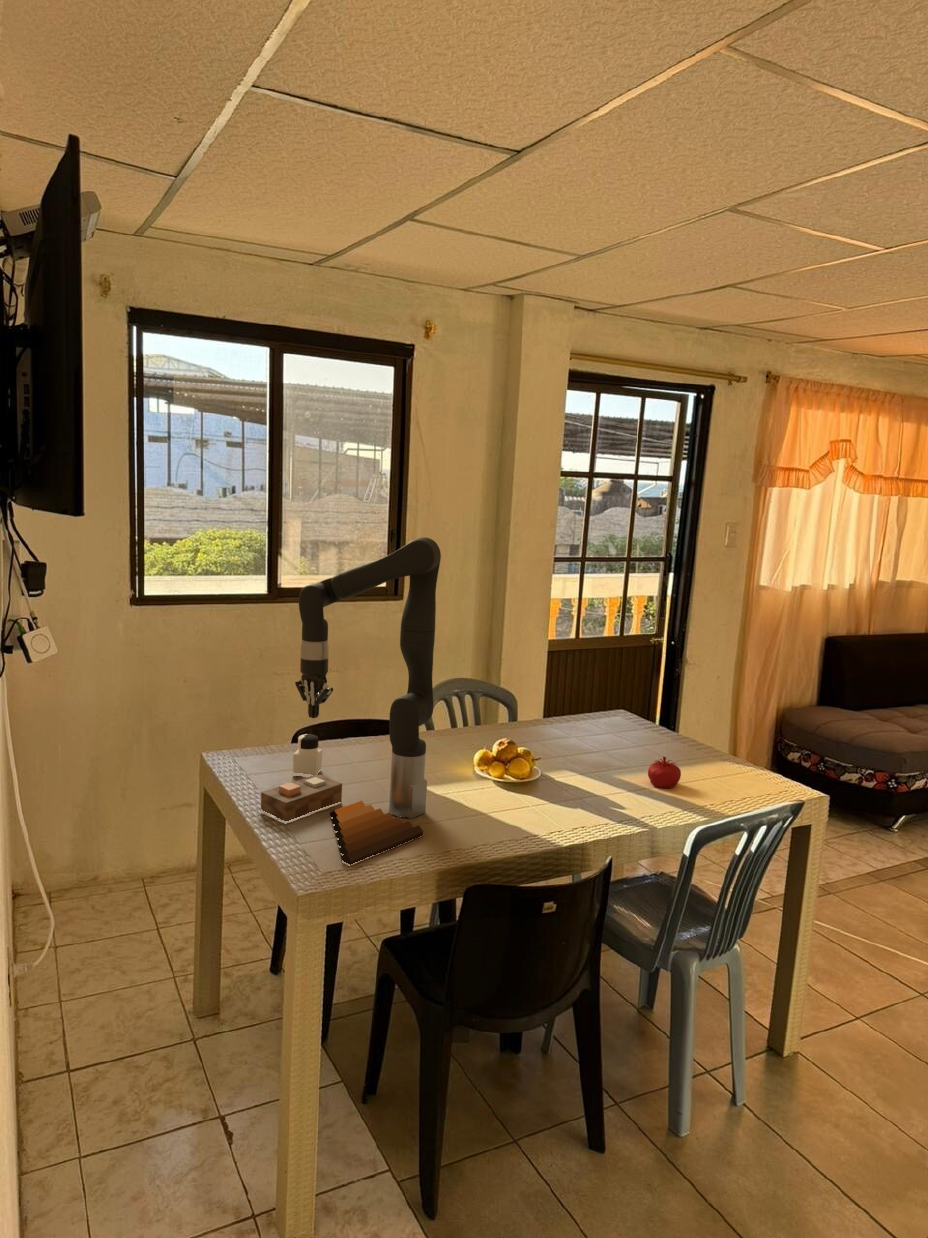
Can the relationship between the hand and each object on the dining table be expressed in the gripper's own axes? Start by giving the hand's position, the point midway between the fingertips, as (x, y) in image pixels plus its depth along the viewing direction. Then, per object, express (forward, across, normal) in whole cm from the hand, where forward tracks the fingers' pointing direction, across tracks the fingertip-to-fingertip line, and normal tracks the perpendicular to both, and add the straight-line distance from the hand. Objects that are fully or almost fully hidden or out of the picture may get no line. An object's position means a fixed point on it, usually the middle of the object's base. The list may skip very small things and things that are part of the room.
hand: (313, 717), depth 238 cm
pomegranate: (+25, -69, -84) cm, 112 cm away
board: (+24, -3, +6) cm, 25 cm away
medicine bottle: (+24, +16, -13) cm, 31 cm away
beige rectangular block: (+22, -3, +2) cm, 23 cm away
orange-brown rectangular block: (+22, -3, +11) cm, 24 cm away
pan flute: (+25, -25, +9) cm, 37 cm away
